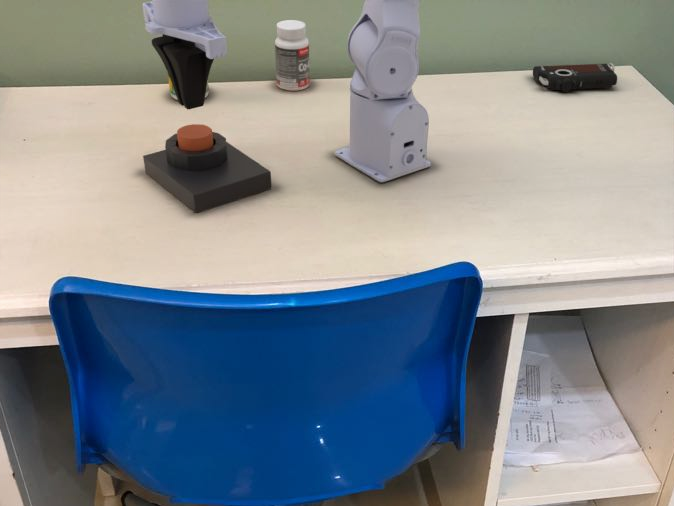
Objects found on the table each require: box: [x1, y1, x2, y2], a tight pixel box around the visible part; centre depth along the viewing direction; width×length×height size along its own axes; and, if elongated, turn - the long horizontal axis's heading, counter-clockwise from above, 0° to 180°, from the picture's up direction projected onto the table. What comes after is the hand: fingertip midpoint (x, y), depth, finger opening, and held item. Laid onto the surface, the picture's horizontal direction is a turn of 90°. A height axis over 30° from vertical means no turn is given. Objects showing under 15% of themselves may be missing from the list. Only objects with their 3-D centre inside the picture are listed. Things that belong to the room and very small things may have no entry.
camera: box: [532, 62, 618, 93], centre depth 126 cm, size 6×3×11 cm
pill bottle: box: [274, 19, 311, 92], centre depth 122 cm, size 5×5×8 cm
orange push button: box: [176, 123, 214, 151], centre depth 100 cm, size 4×4×2 cm
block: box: [142, 131, 272, 214], centre depth 100 cm, size 12×10×4 cm
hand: (191, 104), depth 97 cm, fingers closed
